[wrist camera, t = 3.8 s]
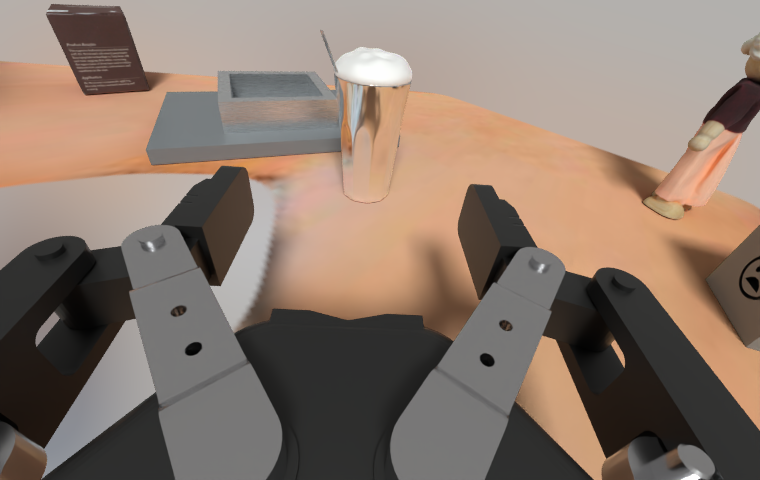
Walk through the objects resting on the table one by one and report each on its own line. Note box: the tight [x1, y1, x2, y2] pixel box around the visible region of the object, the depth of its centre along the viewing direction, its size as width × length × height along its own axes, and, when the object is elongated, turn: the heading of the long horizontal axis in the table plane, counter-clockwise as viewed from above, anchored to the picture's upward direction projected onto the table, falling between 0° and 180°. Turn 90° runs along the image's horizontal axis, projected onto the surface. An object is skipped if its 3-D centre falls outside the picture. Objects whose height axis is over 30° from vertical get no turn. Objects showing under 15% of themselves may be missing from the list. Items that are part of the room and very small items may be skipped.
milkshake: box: [320, 30, 412, 203], centre depth 21 cm, size 4×5×10 cm
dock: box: [146, 71, 400, 165], centre depth 32 cm, size 20×14×4 cm
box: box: [46, 4, 149, 95], centre depth 35 cm, size 6×6×7 cm
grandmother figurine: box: [643, 33, 760, 219], centre depth 23 cm, size 8×4×13 cm, turn 139°
